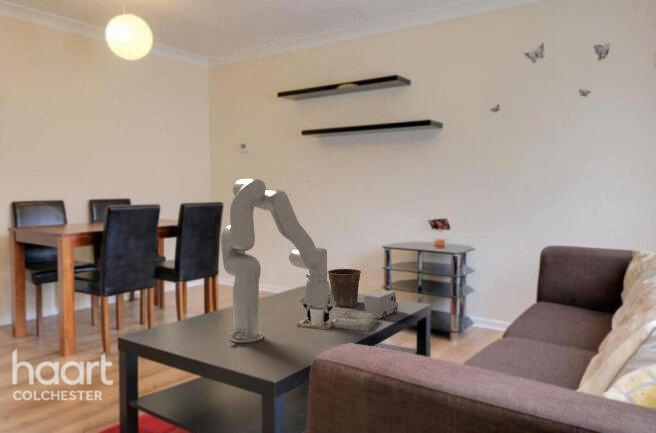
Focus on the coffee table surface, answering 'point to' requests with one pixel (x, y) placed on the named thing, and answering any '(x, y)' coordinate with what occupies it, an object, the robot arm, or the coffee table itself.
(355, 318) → the plate
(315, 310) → the white cup
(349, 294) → the plant pot
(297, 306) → the coffee table surface
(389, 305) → the toy vehicle
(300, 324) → the cradle
